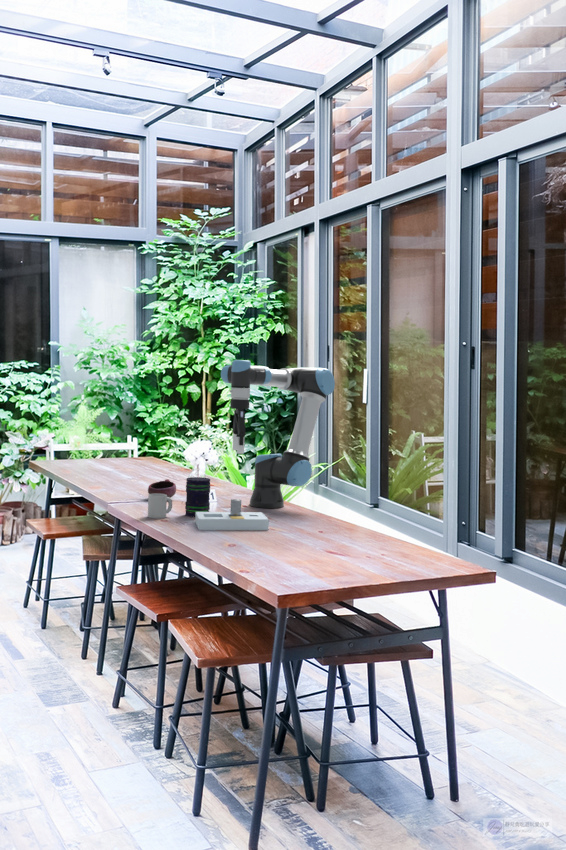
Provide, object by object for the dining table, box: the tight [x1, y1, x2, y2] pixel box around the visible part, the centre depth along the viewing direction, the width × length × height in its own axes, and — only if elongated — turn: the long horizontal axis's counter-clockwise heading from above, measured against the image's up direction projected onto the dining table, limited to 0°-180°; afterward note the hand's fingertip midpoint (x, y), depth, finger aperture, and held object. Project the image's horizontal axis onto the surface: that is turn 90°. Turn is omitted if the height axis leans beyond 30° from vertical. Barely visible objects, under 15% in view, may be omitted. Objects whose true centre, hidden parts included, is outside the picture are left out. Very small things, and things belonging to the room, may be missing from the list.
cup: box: [147, 493, 173, 520], centre depth 322 cm, size 7×10×9 cm
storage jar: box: [184, 476, 211, 518], centre depth 329 cm, size 10×10×15 cm
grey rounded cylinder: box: [229, 498, 242, 516], centre depth 309 cm, size 4×4×10 cm
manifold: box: [194, 511, 270, 531], centre depth 308 cm, size 16×26×4 cm, turn 101°
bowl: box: [147, 478, 177, 499], centre depth 369 cm, size 16×13×8 cm
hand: (238, 452), depth 324 cm, fingers open, 13 cm apart
